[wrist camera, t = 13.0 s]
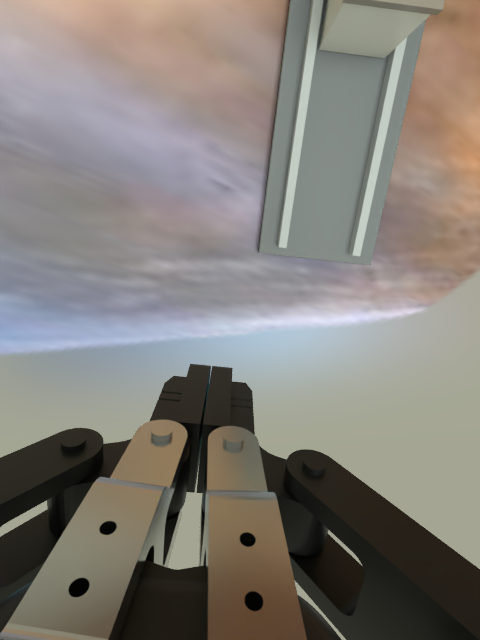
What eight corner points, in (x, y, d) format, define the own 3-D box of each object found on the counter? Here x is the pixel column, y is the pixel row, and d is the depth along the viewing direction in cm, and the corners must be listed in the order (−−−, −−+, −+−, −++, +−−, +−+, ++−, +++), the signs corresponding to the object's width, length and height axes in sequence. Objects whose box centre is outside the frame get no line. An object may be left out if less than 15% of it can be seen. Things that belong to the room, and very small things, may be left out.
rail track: (258, 250, 40) (262, 263, 33) (299, -79, 31) (316, -159, 24) (365, 262, 41) (392, 277, 34) (437, -59, 32) (493, -132, 25)
